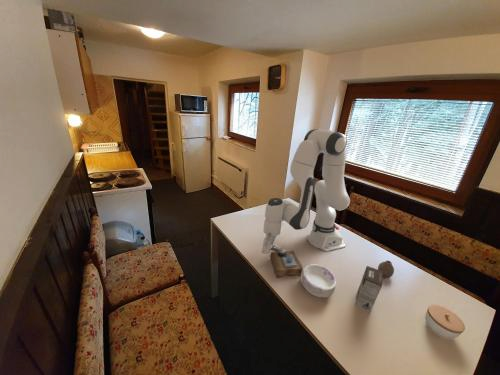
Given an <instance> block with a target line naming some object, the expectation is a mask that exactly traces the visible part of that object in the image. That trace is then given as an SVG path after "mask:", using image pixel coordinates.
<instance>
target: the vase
mask: <svg viewBox="0 0 500 375" xmlns="http://www.w3.org/2000/svg"><path fill="white" fill-rule="evenodd" d="M377 270H380V271H382V272H383V279H384V278H385V279H389V278H392V276H394V273H395V267H394V266H393V264H392V262H391V261H390V260H385V261H382V262H380V263H378V265H377Z"/></svg>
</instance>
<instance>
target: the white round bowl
mask: <svg viewBox="0 0 500 375" xmlns="http://www.w3.org/2000/svg"><path fill="white" fill-rule="evenodd" d="M300 279H301V283H302V286H303V287H304V288H305V289H306V291H307V292H309V294H311V295H313V296H315V297H320V298H329V297H331V296H332V295H333V294H334V293H335V290H336V287H337V282H338V281H337V277H336V276H335V274H334V273H333V271H332V270H330V269H329V268H327V267H326V266H325V265H321V264H316V263H311V264H308V265H305V267H304V268H302V273H301V278H300Z"/></svg>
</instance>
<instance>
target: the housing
mask: <svg viewBox="0 0 500 375" xmlns="http://www.w3.org/2000/svg"><path fill="white" fill-rule="evenodd" d="M288 254H291V255H292V256H293V258H294V260H295V262H296V264H297V267H285V266H284V263H283V261H282V257H288ZM269 258H270V262H271V266H272V269H273V272H274V276H275V278H276V279H279V278H290V277H291V278H292V277H302V273H303V267H302V265H301V263H300V260H299V259H298V256H297V255H296V253H295V250H286V251H285V255H284V256H281V255H280V254H279V253H277V252H275V251H270V257H269Z"/></svg>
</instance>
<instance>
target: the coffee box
mask: <svg viewBox="0 0 500 375" xmlns="http://www.w3.org/2000/svg"><path fill="white" fill-rule="evenodd" d="M383 280H384V277H383V272H382V271H380V270H378V268H375V267H371V266H368V265H366V268H365V270H364V272H363V275H362V278H361V281H360V284H359V286H358V289H357V291H356V292H357V294H356V299H355V306H357V307H360V308H361V309H363V310H366V311H367V312H369V313H371V312H372V310H373V307H374V305H375V303H376V300H377V298H378V296H379V294H380V292H381V290H382V287H383Z"/></svg>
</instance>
